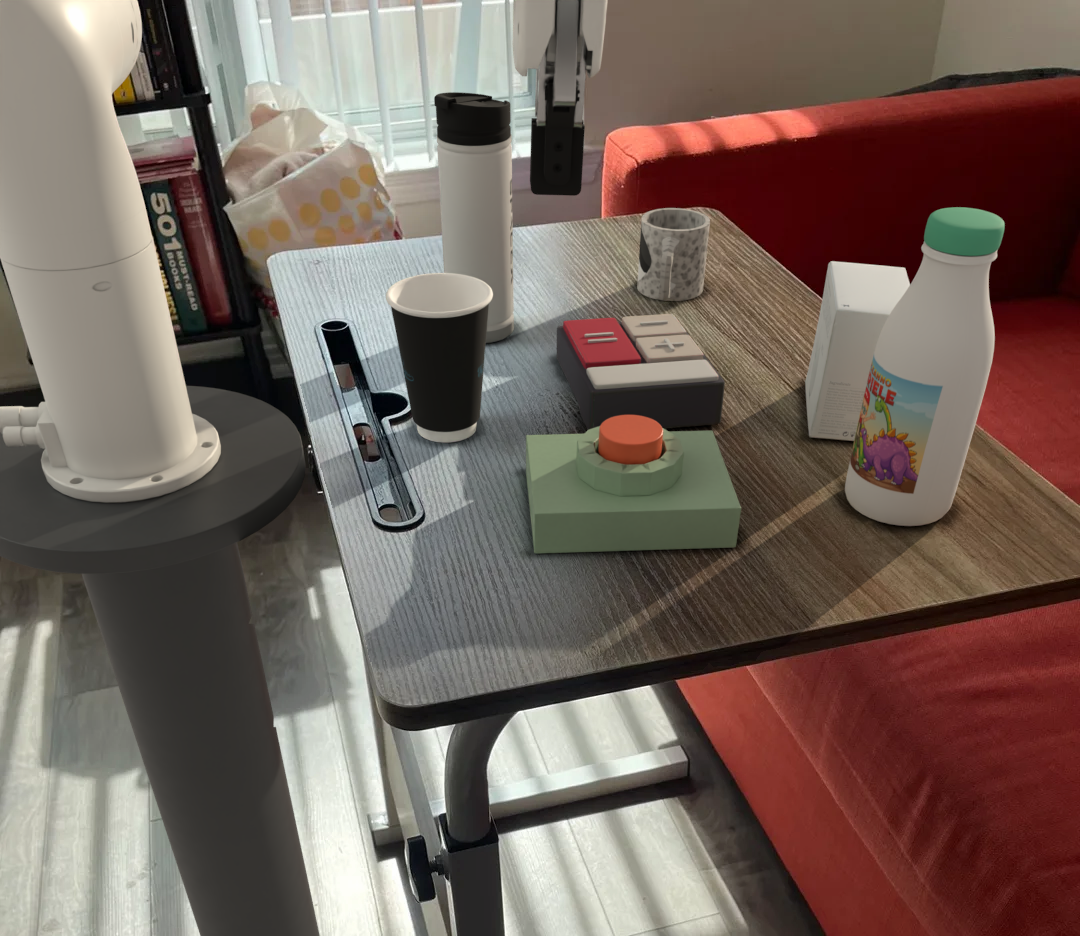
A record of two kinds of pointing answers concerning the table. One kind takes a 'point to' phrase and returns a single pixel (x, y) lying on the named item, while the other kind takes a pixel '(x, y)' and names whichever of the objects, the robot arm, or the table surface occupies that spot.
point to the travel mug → (478, 197)
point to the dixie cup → (442, 350)
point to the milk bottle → (928, 376)
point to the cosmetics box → (848, 343)
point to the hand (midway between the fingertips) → (555, 190)
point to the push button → (630, 439)
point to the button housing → (629, 496)
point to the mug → (672, 254)
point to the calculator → (639, 371)
